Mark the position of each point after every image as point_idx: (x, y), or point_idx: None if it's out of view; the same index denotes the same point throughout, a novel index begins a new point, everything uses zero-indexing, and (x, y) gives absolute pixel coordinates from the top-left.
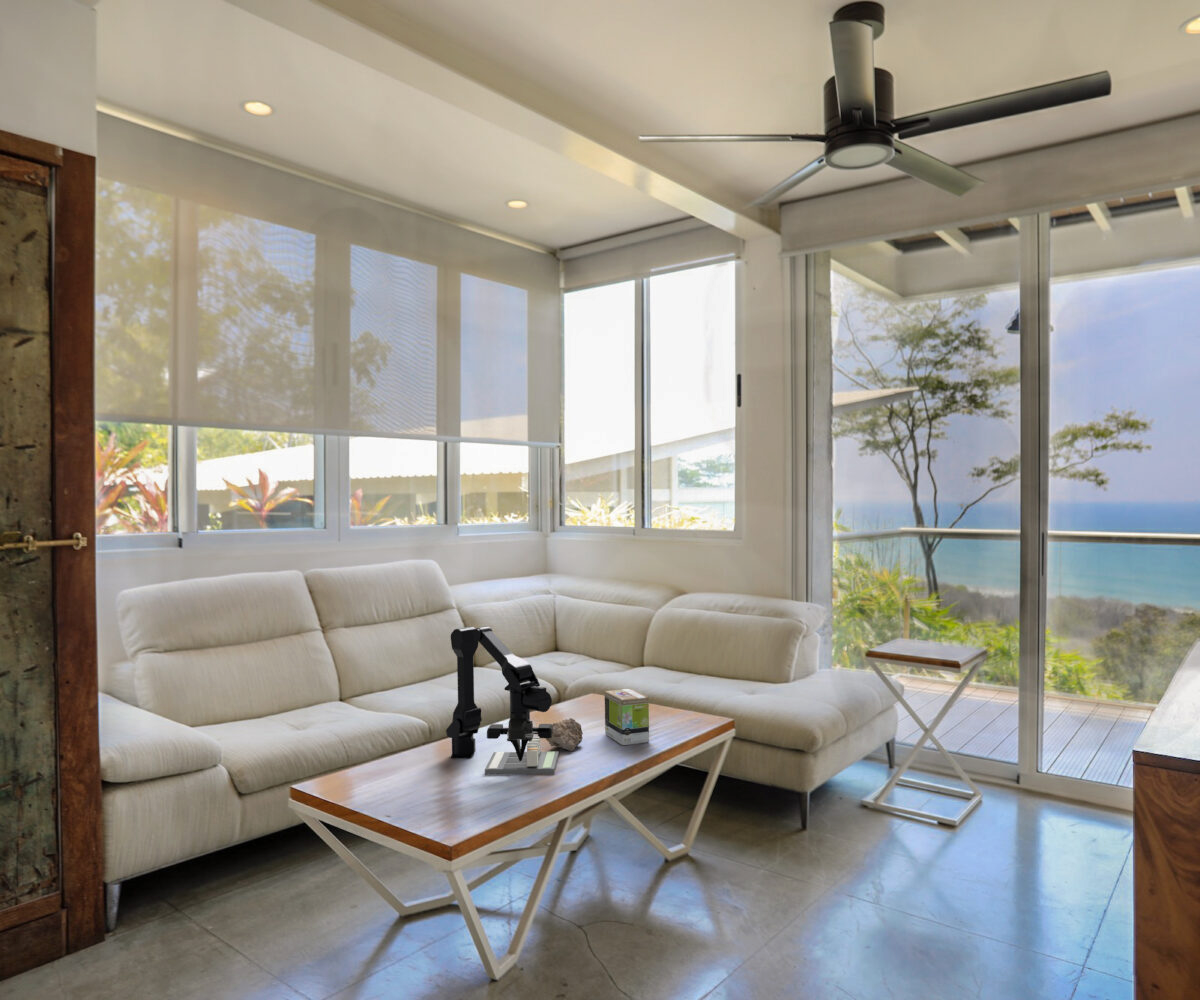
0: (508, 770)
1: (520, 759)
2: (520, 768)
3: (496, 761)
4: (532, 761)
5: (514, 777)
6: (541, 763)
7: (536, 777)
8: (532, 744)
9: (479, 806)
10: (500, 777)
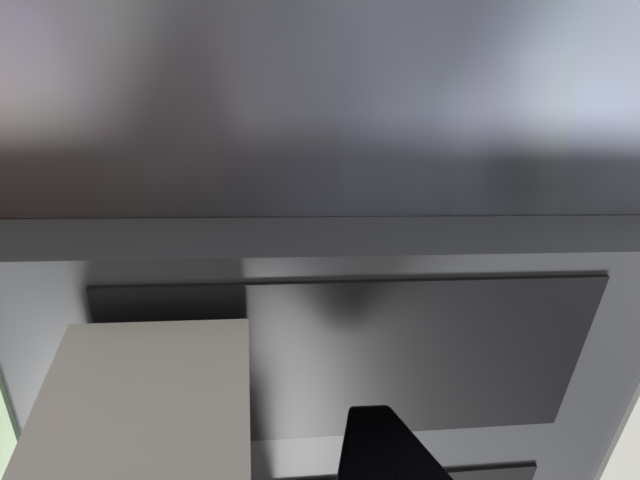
0: (524, 242)
1: (373, 422)
2: (350, 275)
3: (638, 475)
4: (140, 379)
5: (423, 85)
6: None
7: (53, 62)
8: None
9: None
10: (625, 98)
